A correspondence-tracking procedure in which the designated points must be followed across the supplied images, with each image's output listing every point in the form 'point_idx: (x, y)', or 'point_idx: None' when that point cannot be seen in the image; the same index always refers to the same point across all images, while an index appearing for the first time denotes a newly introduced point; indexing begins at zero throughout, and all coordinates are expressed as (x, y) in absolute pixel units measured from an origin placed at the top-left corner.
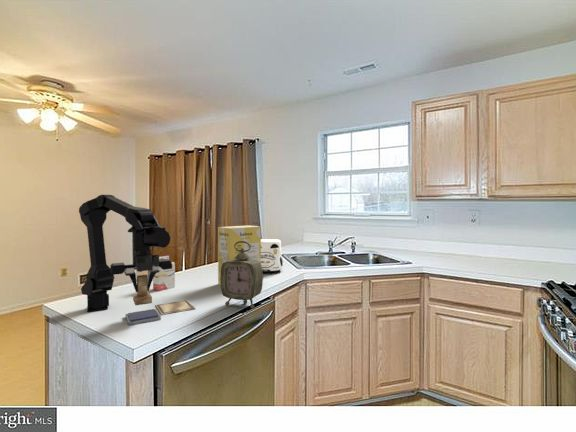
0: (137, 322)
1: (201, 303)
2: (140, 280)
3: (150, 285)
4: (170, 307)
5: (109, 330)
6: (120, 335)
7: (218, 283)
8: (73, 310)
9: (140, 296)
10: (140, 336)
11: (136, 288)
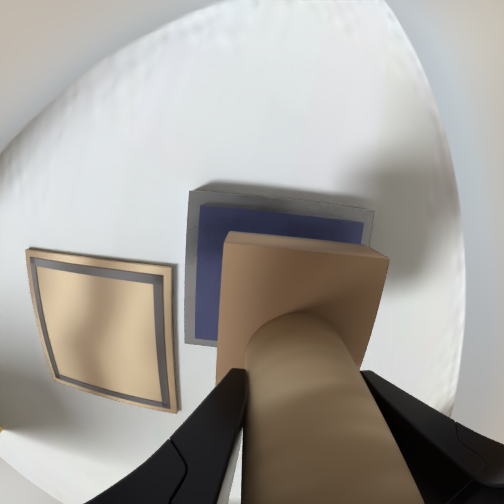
0: (324, 203)
1: (10, 307)
2: (393, 465)
3: (204, 399)
4: (114, 341)
5: (437, 199)
6: (411, 102)
7: (1, 430)
8: None
9: (326, 321)
10: (341, 31)
11: (386, 390)
